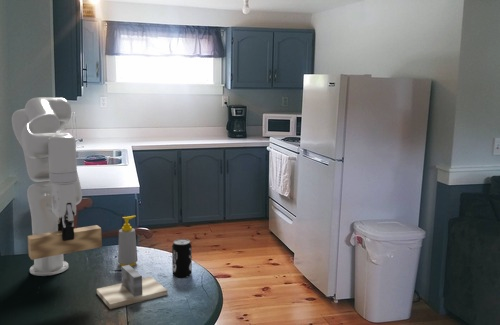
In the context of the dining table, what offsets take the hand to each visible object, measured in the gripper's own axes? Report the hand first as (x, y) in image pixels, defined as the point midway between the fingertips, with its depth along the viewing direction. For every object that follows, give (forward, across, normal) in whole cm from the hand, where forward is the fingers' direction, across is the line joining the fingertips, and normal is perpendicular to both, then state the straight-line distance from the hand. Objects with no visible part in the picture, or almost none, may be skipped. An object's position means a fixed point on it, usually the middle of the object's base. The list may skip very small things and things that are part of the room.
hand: (66, 237), depth 138 cm
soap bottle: (+20, -18, +25) cm, 36 cm away
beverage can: (+19, +3, +37) cm, 42 cm away
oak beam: (+4, 0, 0) cm, 4 cm away
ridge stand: (+19, +8, +17) cm, 27 cm away
